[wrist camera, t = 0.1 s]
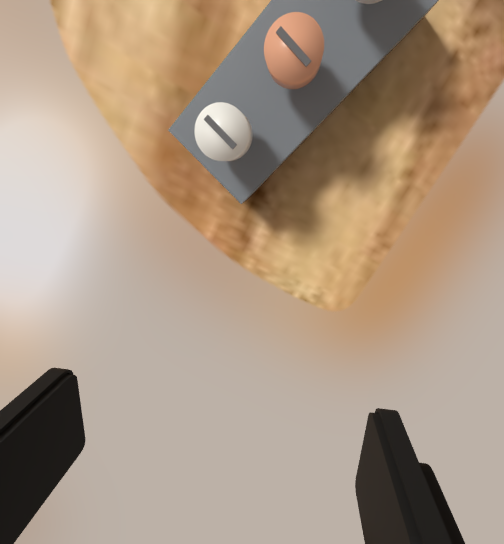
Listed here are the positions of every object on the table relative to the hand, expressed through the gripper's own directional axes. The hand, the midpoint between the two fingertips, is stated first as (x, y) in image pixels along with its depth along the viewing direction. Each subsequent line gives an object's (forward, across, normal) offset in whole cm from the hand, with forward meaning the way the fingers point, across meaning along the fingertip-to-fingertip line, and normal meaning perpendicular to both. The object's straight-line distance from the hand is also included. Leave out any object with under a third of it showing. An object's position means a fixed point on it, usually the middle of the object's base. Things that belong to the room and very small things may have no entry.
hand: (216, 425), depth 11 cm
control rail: (+31, -1, -16) cm, 35 cm away
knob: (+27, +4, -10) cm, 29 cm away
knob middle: (+27, -1, -16) cm, 31 cm away
